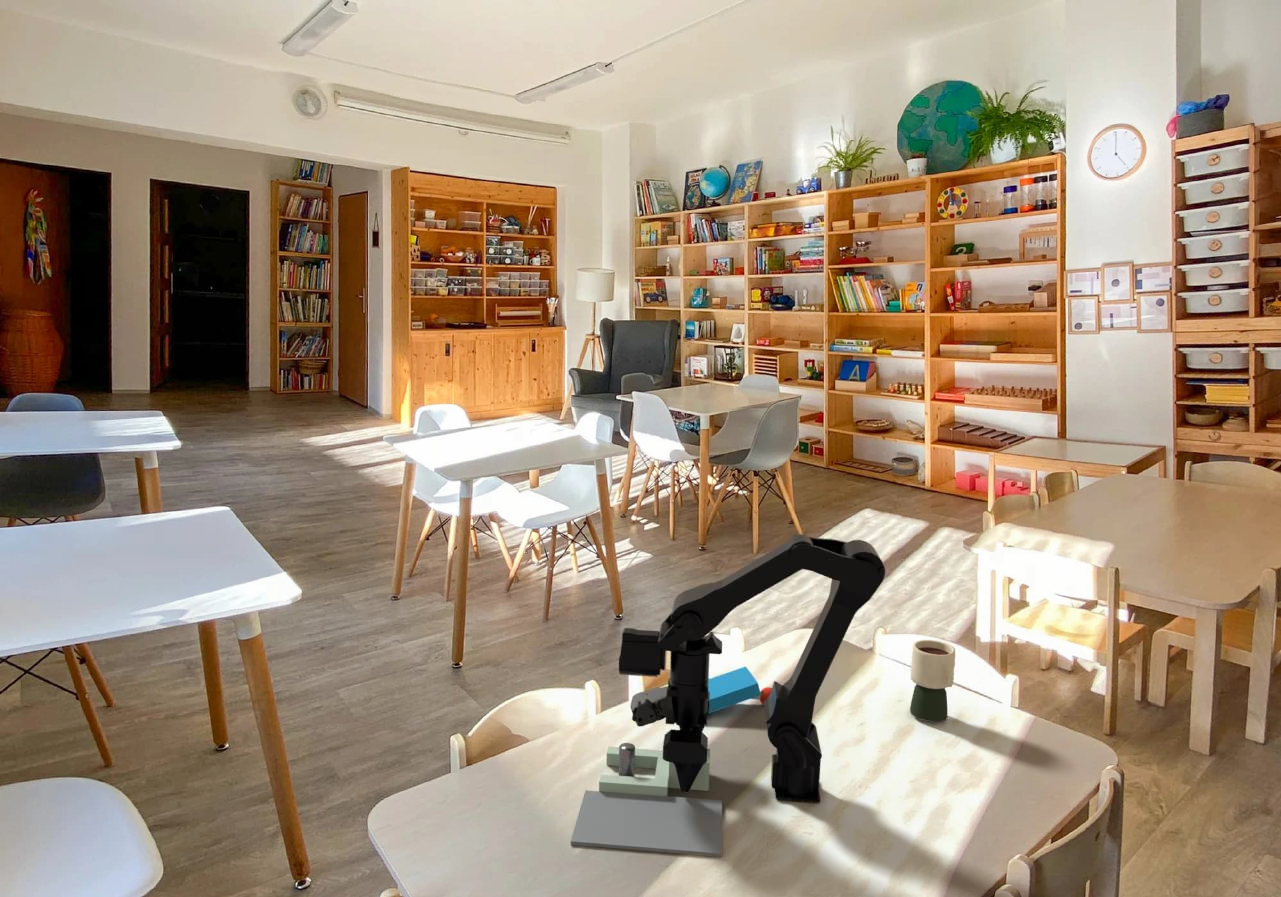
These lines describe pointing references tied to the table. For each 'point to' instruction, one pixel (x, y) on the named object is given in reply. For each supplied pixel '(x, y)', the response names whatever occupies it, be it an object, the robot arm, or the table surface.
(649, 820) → the mat
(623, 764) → the grey metal rod
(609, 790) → the c link
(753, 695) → the lever
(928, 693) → the cream and green cup
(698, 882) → the table surface
